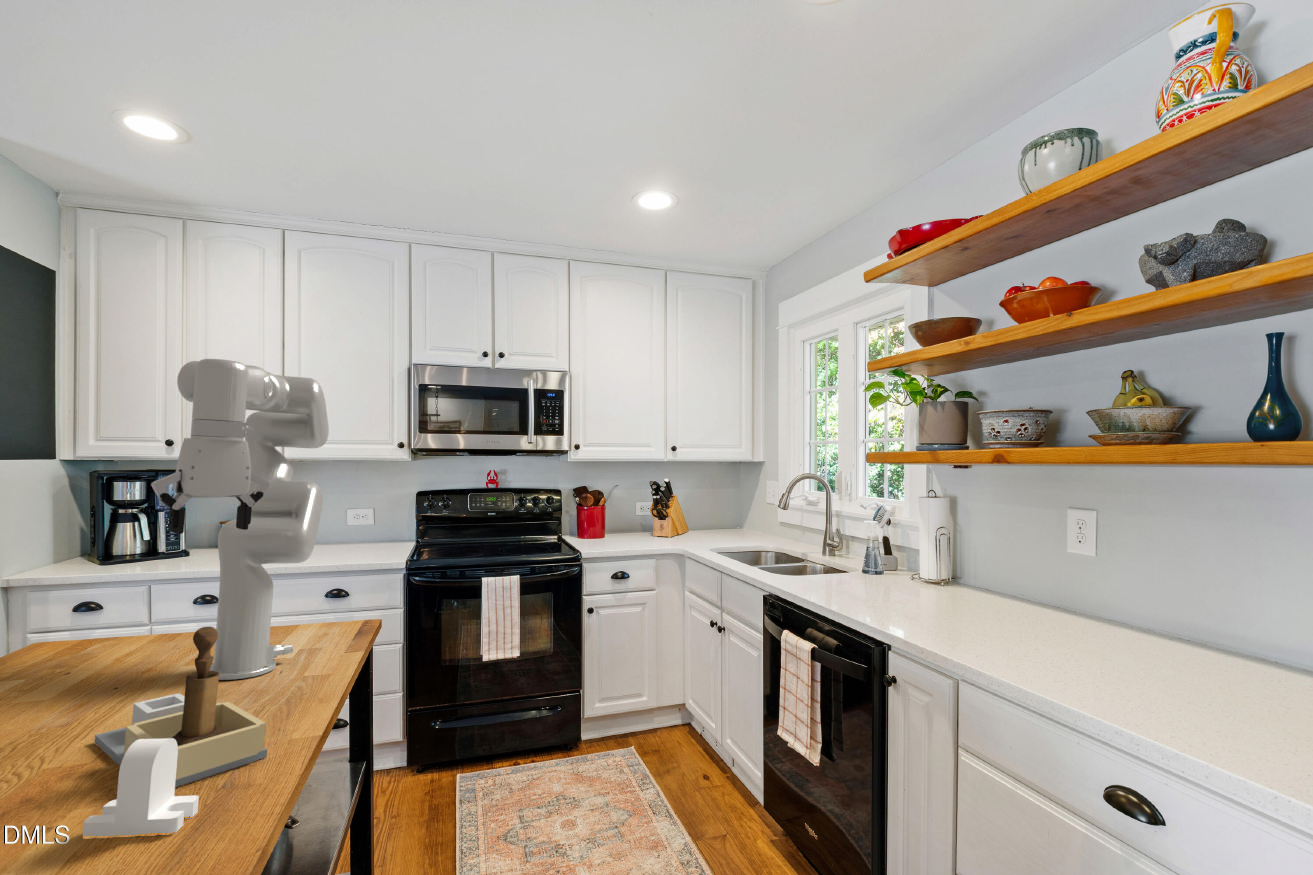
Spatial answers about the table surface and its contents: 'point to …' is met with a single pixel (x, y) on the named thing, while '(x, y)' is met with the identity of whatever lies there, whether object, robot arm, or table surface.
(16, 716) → the table surface
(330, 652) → the table surface
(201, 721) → the brown pepper mill
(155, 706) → the socket board
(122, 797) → the cable organizer
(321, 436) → the robot arm
